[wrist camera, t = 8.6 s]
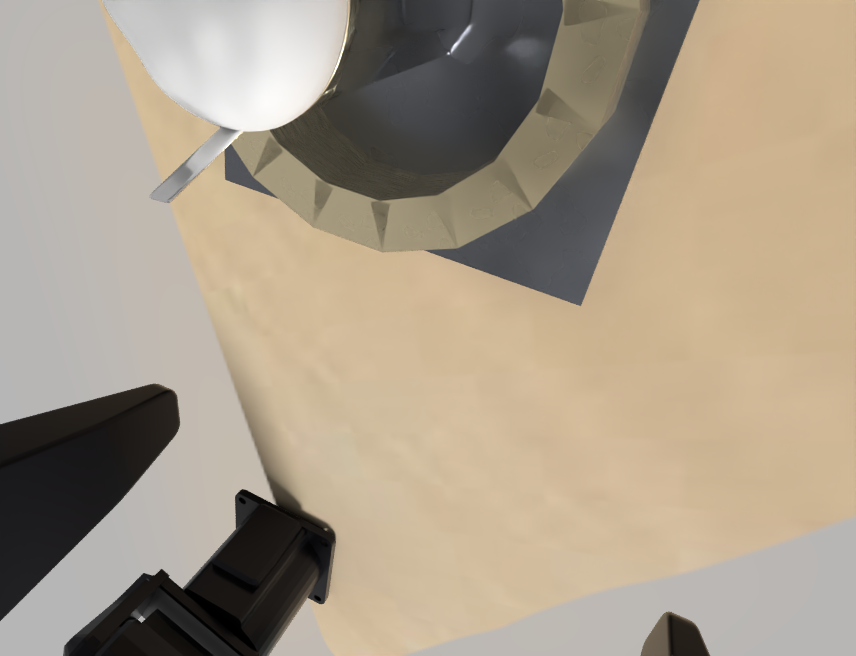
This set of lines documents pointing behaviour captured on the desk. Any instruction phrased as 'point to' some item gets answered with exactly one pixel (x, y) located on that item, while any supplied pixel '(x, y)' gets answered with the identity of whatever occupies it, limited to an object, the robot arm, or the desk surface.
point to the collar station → (487, 141)
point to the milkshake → (276, 57)
